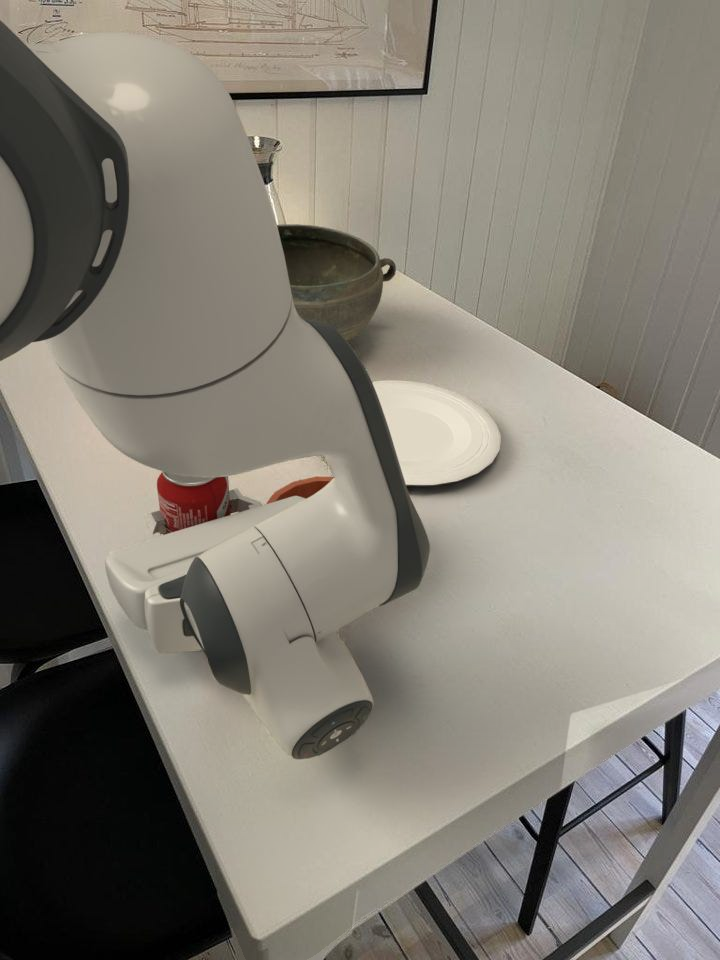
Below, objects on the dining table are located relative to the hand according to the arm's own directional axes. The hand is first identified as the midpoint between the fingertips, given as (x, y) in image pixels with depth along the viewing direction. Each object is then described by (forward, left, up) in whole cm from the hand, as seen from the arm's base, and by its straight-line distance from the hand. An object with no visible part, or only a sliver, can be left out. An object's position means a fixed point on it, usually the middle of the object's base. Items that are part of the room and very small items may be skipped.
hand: (192, 506), depth 75 cm
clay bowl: (+5, -13, -7) cm, 16 cm away
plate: (+31, -14, -7) cm, 35 cm away
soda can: (-1, -1, -7) cm, 7 cm away
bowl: (+50, +10, -7) cm, 52 cm away
